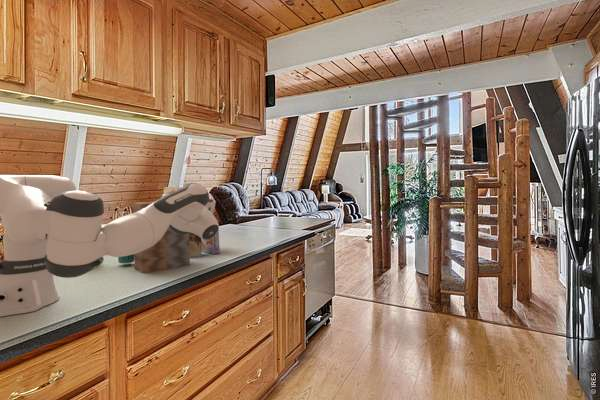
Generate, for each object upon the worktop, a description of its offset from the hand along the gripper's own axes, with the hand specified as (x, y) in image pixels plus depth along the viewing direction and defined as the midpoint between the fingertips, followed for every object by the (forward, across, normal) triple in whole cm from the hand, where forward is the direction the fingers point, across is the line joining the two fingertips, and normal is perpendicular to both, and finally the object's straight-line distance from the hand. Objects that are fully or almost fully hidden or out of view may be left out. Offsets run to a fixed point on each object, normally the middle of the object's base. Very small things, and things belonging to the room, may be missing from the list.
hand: (181, 190), depth 141 cm
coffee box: (+1, +13, -39) cm, 41 cm away
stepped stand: (-9, -5, -33) cm, 35 cm away
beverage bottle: (+3, -16, -40) cm, 43 cm away
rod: (+4, 0, -5) cm, 7 cm away
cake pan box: (+5, +23, -42) cm, 48 cm away
